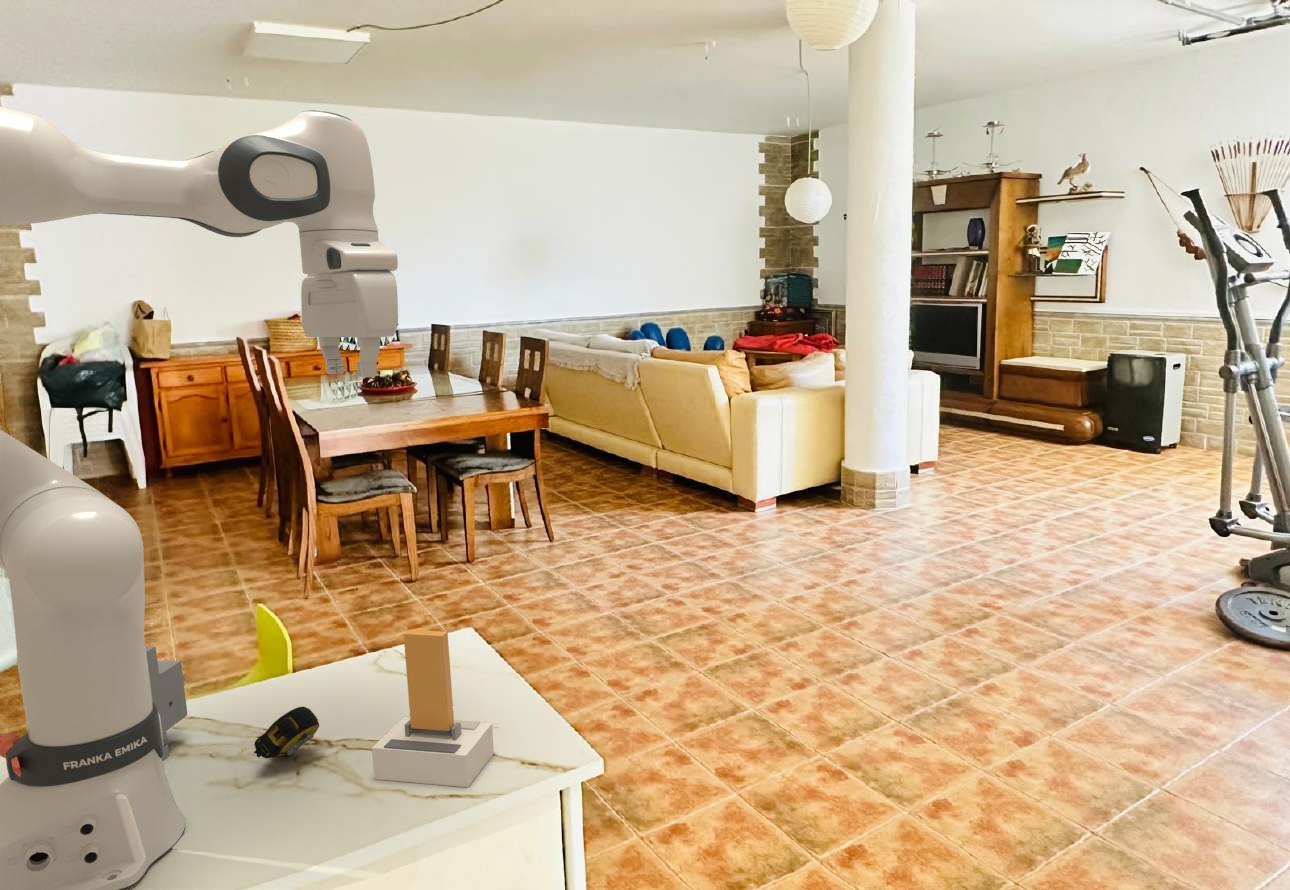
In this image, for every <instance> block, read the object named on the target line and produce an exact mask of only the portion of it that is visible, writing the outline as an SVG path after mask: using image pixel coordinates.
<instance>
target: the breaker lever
mask: <svg viewBox="0 0 1290 890" xmlns="http://www.w3.org/2000/svg"><path fill="white" fill-rule="evenodd" d="M448 632H449V631H445V630H444V631H443V630H442V631H440V630H420V629H408V630H406V632H404V633H403V642H404V643H403V644H404V653H405V654H404V655H405V666H406V667H405V668H406V680H407V682H406V683H407V693H408V705H409V706H408V707H409V717H410V720H411V728H413V729H412V732H413V733H418V734H431V735H444V736H452V734H451V728H452V727H453V726H454V720H455V717H454V703H453V702H454V701H453V690H452V687H453V686H452V678H451V677H452V674H451V673H452V672H451V662H450V646H449V636H448V635H449V634H448Z"/></svg>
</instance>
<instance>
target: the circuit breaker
mask: <svg viewBox="0 0 1290 890" xmlns="http://www.w3.org/2000/svg"><path fill="white" fill-rule="evenodd" d="M145 649H146V657H147V665H148V673H149V681H150V689H151V696H152V702H154V704H155V707H157V709H158V713H159V715H160V720H161V727H162V734H163V744H164V746H163V756H162V761H163V762H164V761H166V760H167V759H168V758H169V757H170V751H169V750H170V749H169V744H165V740H168V734H167V731H168V730H170V729H171V728H173V727H174V726H175V725H176V724H178V723H179V722H180V721H181V720H183V719H185V718H186V717H187V716H188V709H187V708H188V707H187V700H186V691H185V684H184V683H185V682H186V677H185V675H184V674H183V666H182V661H181V660H180V661H178V660H173V661H172V660H158V655H157V648H156V646H145Z"/></svg>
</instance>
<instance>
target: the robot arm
mask: <svg viewBox="0 0 1290 890" xmlns="http://www.w3.org/2000/svg"><path fill="white" fill-rule="evenodd" d="M367 140H368V139H367V137H366V135H365V133H364V130H363V129H362V128H361V126H360V125H359V124H358V123H356V122H355V121H353V120H352V119H351V118H349V117H347V116H344V115H341V114H338V113H335V112H330V111H325V110H322V111H321V110H311V109H310V110H305V111H300V112H298V113H296V115H295V116H294V117H292V118H291V119H290V120H289V119H288V121H286V122H283V123H282V124H279V125H277V126H275V127H273V128H270V129H267V130H265V131H261V132H255V133H252V134H246V135H242V136H238V137H237V138H234V139H232V140H231V141H229V142H227V143H225V144H223V145H222V146H221V147H219V148H217V149H215V150H211V151H209V152H205V153H203V154H200V155H198V156H195V157H193V158H190V159H185V160H168V159H159V158H149V157H141V156H140V157H139V156H130V155H128V156H127V155H119V154H111V153H105V152H99V151H95V150H92V149H89V148H87V147H84V146H82V145H80V144H78V143H77V142H75V141H73V140H72V139H71V138H69V137H68V136H66V135H65V134H64V133H62V131H60V129H59V128H57V126H55V125H54V124H53V123H51V122H50V121H48V120H47V119H46V118H44V117H42V116H40V115H37V114H34V113H30V112H27V111H22V110H19V109H14V108H10V107H5V106H2V105H0V227H1V226H16V225H17V226H18V225H19V226H20V225H32V224H38V223H47V222H52V221H59V220H64V219H71V218H74V217H79V216H81V217H82V216H89V215H90V216H91V215H98V214H100V215H101V214H102V215H120V216H133V217H135V216H137V217H153V218H154V217H155V218H168V219H169V218H170V219H179V220H182V221H186V222H189V223H192V224H194V225H197V226H199V227H201V228H203V229H206V230H207V231H211V232H213V233H215V234H217V235H221V236H225V237H229V238H230V237H231V238H245V237H249V236H252V235H255V234H257V233H259V232H261V231H262V230H265V229H268V228H272V227H274V226H277V225H281V224H283V223H294V224H295V225H296V226H297V227H298V236H299V247H300V257H301V268H302V273H303V274H304V275H307V276H306V277H305V278H304V279H302V283H301V288H300V289H301V291H300V293H301V295H300V299H301V302H300V303H301V321H302V322H301V325H302V329H303V332H304V334H305V336H306V337H307V338H318V342H319V343H318V344H319V348H320V351H321V353H322V356H323V359H324V361H325V362H324V363H325V371H326V373H327V374H328V375H343V374H344V373H345V370H346V369H345V360H344V359H342V357H341V352H340V347H339V346H340V345H341V339H340V338H357V339H356V340H357V341H356V342H357V347H358V348H359V361H356V368H357V371H356V373H357V375H358V376H359V377H360V378H375V377H377V375H378V368H377V367H378V365H377V361H378V357H379V353H380V349H381V339H380V338H387V337H389V338H390V337H394V336H395V335H396V332H397V329H398V324H399V305H398V304H399V303H398V287H397V280H396V276H395V275H394V273H393V272H394V271H397V270H398V266H399V263H398V261H399V260H398V254H397V252H396V251H395V250H393V249H392V248H390V247H388V246H386V245H385V244H384V243H382V242H381V241H380V240H379V239H380V237H379V231H378V230H379V229H378V227H377V223H376V220H375V217H374V203H375V197H376V189H375V179H374V170H373V163H372V157H371V151H370V148H369V143H368V141H367ZM144 551H145V550H144V541H143V536H142V533H141V531H140V527H139V526H138V524H137V522H136V521H135V519H134V518H133V517H132V516H131V515H130V513H129V512H128V511H127V510H125V509H124V508H123V507H122V506H120V505H119V504H118V503H116V502H115V501H113V500H112V499H110V498H109V497H107V496H106V495H105V494H103V493H102V492H101V491H100V490H98V489H96V488H95V487H93V486H91V485H90V484H89V483H87V482H85V481H84V480H82V479H80V477H77V476H76V475H74V474H72V473H71V472H69V471H68V470H66V469H65V468H63V467H61V466H60V465H58V464H56V463H55V462H53V461H52V460H50V459H48V458H47V457H45V456H43V455H42V454H41V453H39V452H37V451H36V450H34V449H33V448H31V447H30V446H28V445H26V444H24V443H23V442H22V441H20V440H19V439H17V438H15V437H14V436H12V435H10V434H8V433H6V432H5V431H3V430H2V429H0V567H1V568H2V569H3V570H5V571H6V574H7V578H8V583H9V588H10V597H11V604H12V614H13V623H14V634H15V635H14V636H15V643H16V644H15V645H16V646H15V647H16V663H17V669H18V675H19V682H20V689H21V696H22V701H23V709H24V715H25V722H26V728H27V732H26V733H25V734H24V735H22V736H21V737H20V735H19V734H18V735H17V733H14V732H9V733H5V734H2V736H0V757H2V758H4V759H5V761H6V762H5V763H6V770H7V773H8V777H6V778H5V779H4V780H3V781H2V782H1V783H0V890H121V889H124V888H127V887H130V886H132V885H134V884H136V883H137V882H138V881H139V880H141V878H143V876H144V874H146V872H147V870H148V869H149V867H150V866H151V864H152V863H153V862H155V861H156V860H157V859H159V858H160V857H161V856H163V855H164V854H165V853H166V852H168V851H169V850H170V849H171V848H172V847H173V846H174V845H175V844H176V843H177V842H178V841H179V839H180V838H181V836H182V835H183V833H184V830H185V828H186V819H185V817H184V815H183V813H182V811H181V810H180V808H179V806H178V803H177V802H176V799H175V797H174V795H173V792H172V789H171V786H170V783H169V780H168V777H167V773H166V770H165V766H164V761H162V756H163V746H164V744H163V734H162V727H161V720H160V715H159V713H158V709H157V707H155V704H154V702H152V696H151V689H150V681H149V673H148V665H147V657H146V649H145V647H146V642H145V640H146V639H145V611H146V607H145V606H146V605H145V603H146V601H145V600H146V596H145V595H146V593H145V592H146V591H145V590H146V589H145V562H144V558H145V556H144V555H145V553H144Z"/></svg>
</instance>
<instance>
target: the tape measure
mask: <svg viewBox="0 0 1290 890" xmlns="http://www.w3.org/2000/svg"><path fill="white" fill-rule="evenodd" d="M319 728H320V723H319V719H318V717H317V716H316V714H315V713H314V712H313V711H312V709H310V708H308V707H306V706H298V707H295V708H293V709H291V710H289V711H288V712H286V713H285V714H283V715H281V716H280V717H279V718H278V719H277V720H275V721H274V722H273V723H272V724H271V725H270V726H269V727H268V728H267V730H266V731H265V732H264V733H263V734H262V735H260V736H259V737H258V738H256V739H255V741H254V744H253V745H254V749H255V750H254V751H253V754H256V757H257V758H260V757H262V758H264V759H272V758H280V757H287V756H291V755H293V753H294V752H295V751H296V750H297V749H299V748H300V747H302V746H303V745H305V744H306V743H307V742H308V741H310V740H311V739H313V738H314V735H315V734H316V733H317V731H318V729H319Z"/></svg>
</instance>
